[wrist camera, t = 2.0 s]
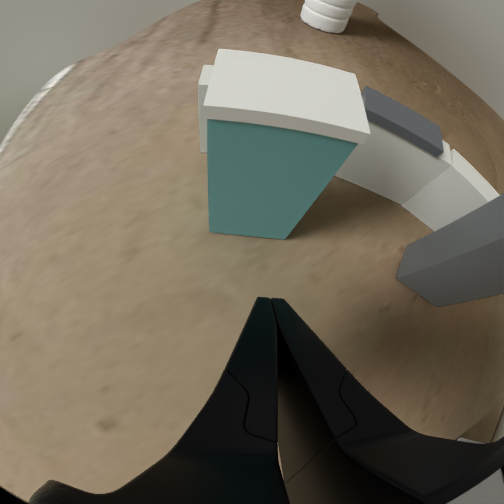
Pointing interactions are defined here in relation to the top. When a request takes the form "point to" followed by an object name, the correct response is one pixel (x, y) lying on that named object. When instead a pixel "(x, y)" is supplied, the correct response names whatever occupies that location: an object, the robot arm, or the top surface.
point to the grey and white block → (459, 258)
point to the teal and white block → (275, 139)
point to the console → (402, 161)
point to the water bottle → (327, 14)
